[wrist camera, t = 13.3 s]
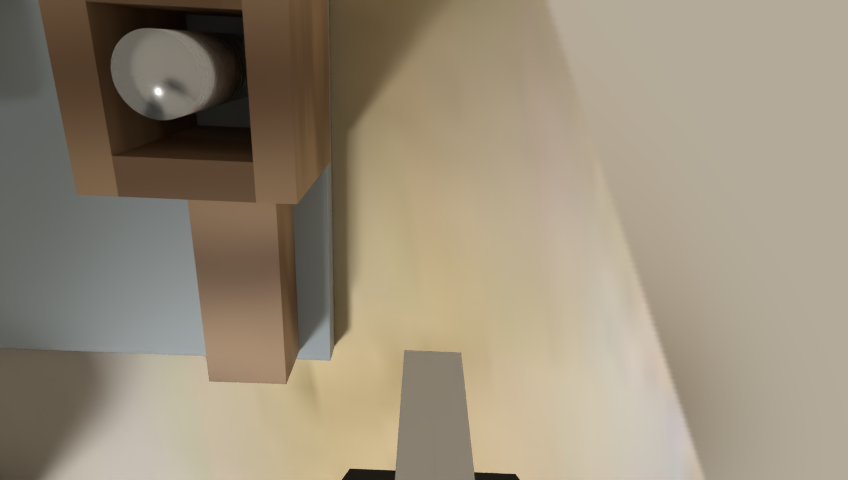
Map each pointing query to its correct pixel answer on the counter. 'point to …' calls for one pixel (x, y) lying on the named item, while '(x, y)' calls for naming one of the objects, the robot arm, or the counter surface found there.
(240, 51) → the cylinder
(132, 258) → the board
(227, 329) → the link
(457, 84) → the counter surface
